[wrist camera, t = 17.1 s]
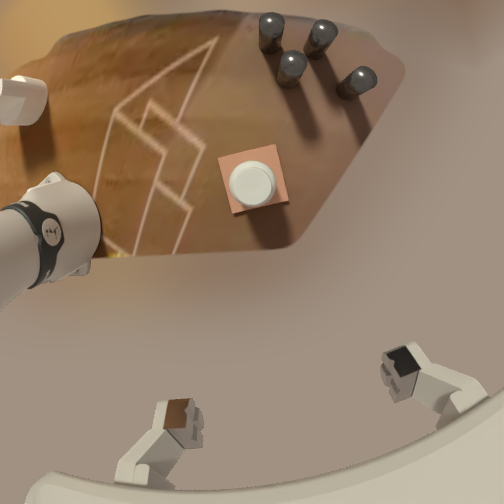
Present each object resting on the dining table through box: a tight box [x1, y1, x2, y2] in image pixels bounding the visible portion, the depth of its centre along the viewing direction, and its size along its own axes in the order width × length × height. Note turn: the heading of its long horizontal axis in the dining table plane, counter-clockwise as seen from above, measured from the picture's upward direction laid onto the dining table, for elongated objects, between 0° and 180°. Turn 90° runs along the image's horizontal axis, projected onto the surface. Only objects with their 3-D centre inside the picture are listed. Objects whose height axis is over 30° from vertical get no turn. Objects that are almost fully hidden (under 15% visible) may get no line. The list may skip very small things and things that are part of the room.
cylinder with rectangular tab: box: [0, 76, 48, 126], centre depth 28 cm, size 9×9×12 cm
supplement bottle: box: [229, 160, 276, 207], centre depth 33 cm, size 5×5×10 cm
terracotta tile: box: [218, 144, 289, 214], centre depth 38 cm, size 8×8×1 cm
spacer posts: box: [259, 12, 377, 101], centre depth 29 cm, size 12×12×8 cm
